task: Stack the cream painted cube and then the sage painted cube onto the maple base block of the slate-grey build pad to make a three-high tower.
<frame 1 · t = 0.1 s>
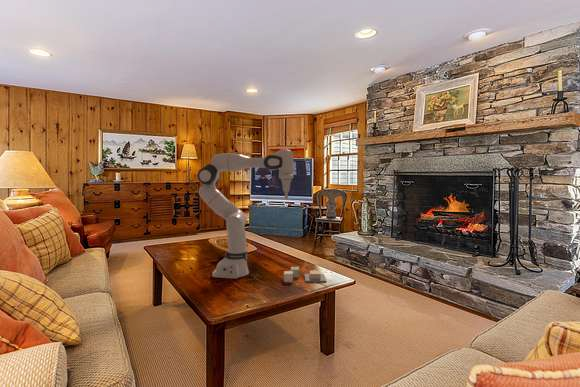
hand: (286, 198, 191), 48 cm above the table, fingers open, 8 cm apart
build pad: (315, 278, 185), on the table
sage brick: (294, 276, 190), on the table
cream brick: (288, 280, 182), on the table
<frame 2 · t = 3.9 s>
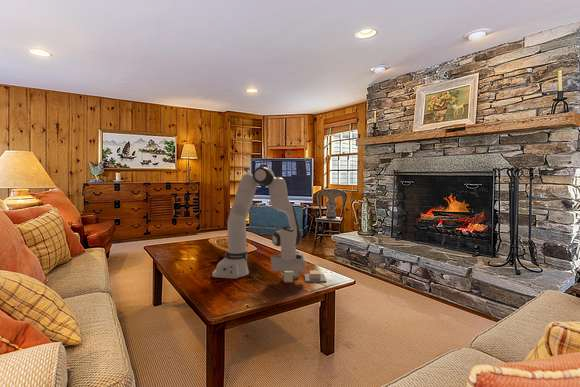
hand: (288, 277, 181), 2 cm above the table, fingers closed on cream brick, 5 cm apart
cream brick: (288, 280, 181), on the table, touching gripper
everything else where it was.
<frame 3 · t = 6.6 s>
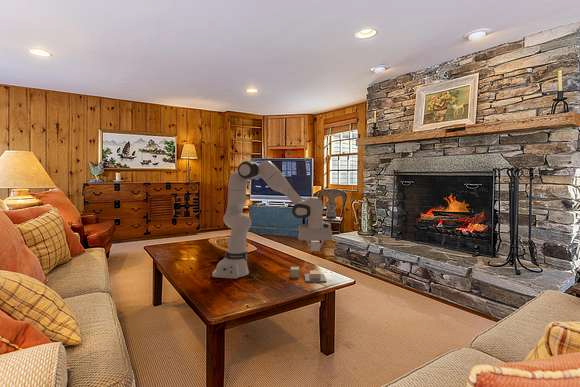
hand: (315, 247, 183), 19 cm above the table, fingers closed on cream brick, 5 cm apart
cream brick: (315, 249, 183), point 18 cm above the table, touching gripper
everything else where it was.
when the fingers open (7 cm above the table, at t = 9.2 s): cream brick drops 1 cm, resting on build pad.
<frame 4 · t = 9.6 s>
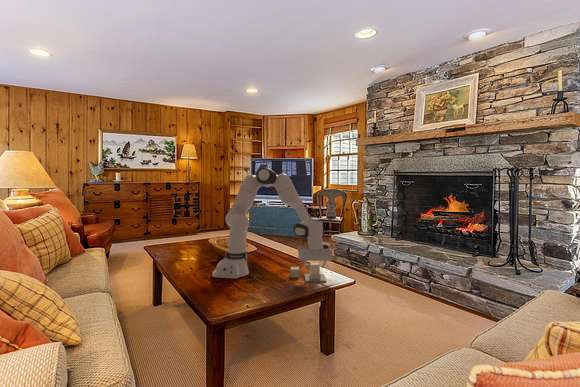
hand: (315, 267, 184), 7 cm above the table, fingers open, 8 cm apart
cream brick: (314, 272, 184), point 4 cm above the table, touching build pad
everything else where it was.
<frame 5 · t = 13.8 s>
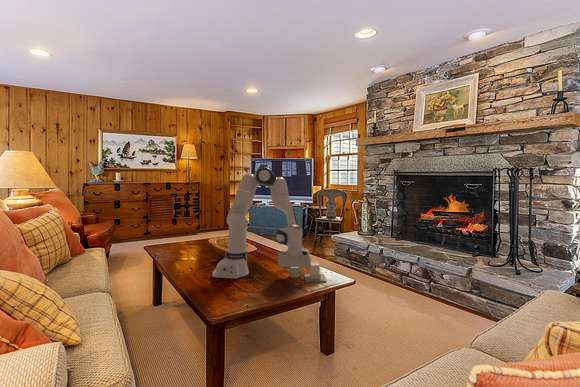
hand: (294, 273, 189), 2 cm above the table, fingers closed on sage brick, 5 cm apart
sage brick: (294, 275, 190), on the table, touching gripper
everything else where it was.
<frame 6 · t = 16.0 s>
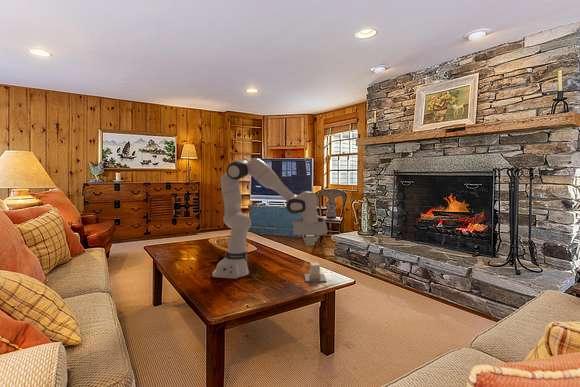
hand: (310, 241, 184), 22 cm above the table, fingers closed on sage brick, 5 cm apart
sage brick: (310, 244, 184), point 21 cm above the table, touching gripper
everything else where it was.
when the fingers open (12 cm above the table, at t = 18.4 s): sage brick drops 1 cm, resting on cream brick.
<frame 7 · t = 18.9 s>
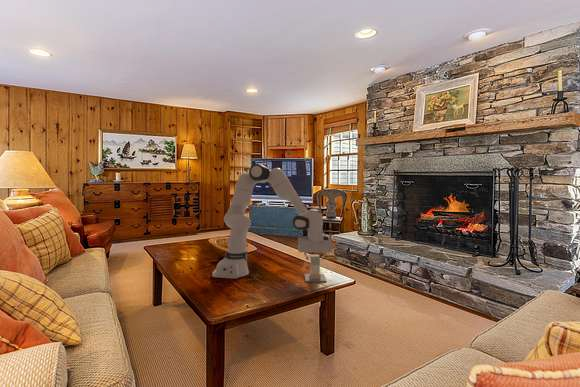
hand: (315, 259, 184), 12 cm above the table, fingers open, 8 cm apart
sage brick: (315, 264, 184), point 9 cm above the table, touching cream brick
cream brick: (314, 272, 184), point 4 cm above the table, touching build pad, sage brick
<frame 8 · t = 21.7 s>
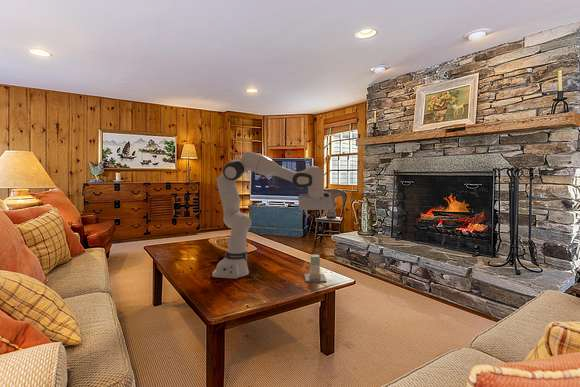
hand: (315, 217, 182), 37 cm above the table, fingers open, 8 cm apart
nothing on the table moved.
at the end: cream brick 0.1 cm off-centre on the build pad, point 4.0 cm above the build pad's base; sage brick 0.1 cm off-centre on the build pad, point 9.0 cm above the build pad's base; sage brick tilted 0° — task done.
